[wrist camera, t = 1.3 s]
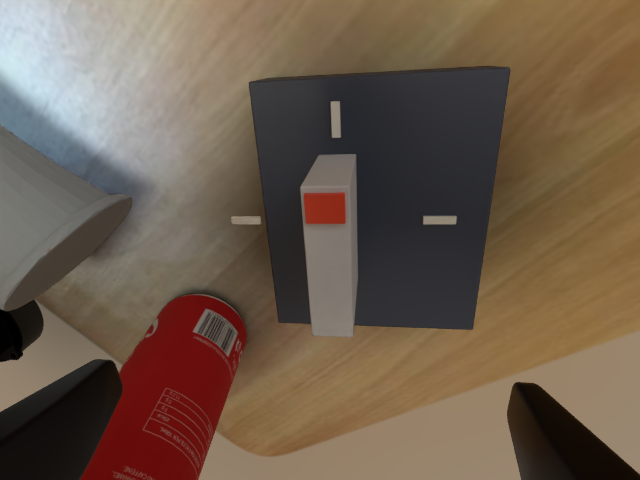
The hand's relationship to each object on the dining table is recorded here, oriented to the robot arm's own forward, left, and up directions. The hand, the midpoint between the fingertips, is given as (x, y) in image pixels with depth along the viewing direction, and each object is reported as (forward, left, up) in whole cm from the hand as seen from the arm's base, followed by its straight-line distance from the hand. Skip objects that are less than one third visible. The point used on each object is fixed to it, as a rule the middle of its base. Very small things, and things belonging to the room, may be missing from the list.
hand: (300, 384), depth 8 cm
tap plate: (+2, 0, -13) cm, 13 cm away
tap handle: (0, 0, -10) cm, 10 cm away
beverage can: (-9, -9, -13) cm, 18 cm away
